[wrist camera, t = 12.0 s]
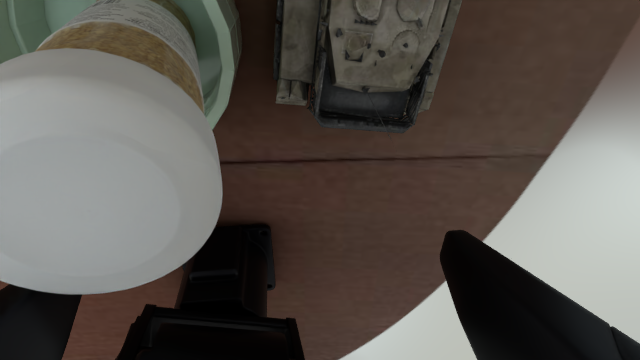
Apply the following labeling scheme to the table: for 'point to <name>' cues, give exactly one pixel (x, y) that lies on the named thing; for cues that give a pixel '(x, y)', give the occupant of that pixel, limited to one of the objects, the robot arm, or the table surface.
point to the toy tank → (362, 59)
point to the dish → (197, 3)
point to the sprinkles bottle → (106, 152)
